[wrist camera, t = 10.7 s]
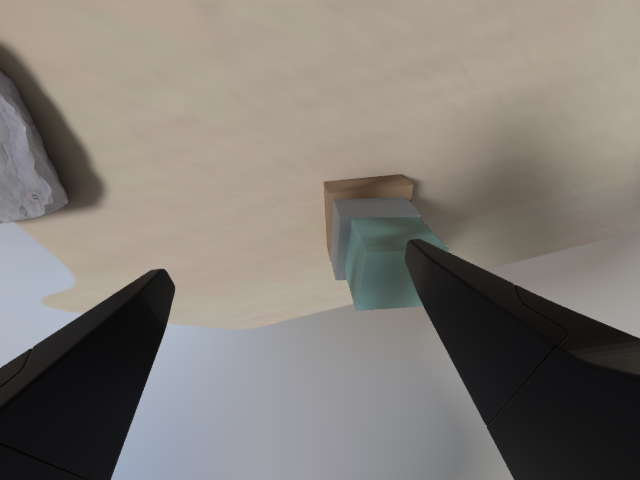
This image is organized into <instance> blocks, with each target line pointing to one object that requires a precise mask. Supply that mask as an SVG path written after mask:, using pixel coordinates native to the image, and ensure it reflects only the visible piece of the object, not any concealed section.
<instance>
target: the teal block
mask: <svg viewBox="0 0 640 480" xmlns="http://www.w3.org/2000/svg"><path fill="white" fill-rule="evenodd" d="M410 239H421V240H424V241H426V242H428V243H430V244H432V245H434V246H436V247H438V248H440V249H442V250H444V251H446V252H448V250H449V249H448V248H447V247H446V246H445V245H444V244H443V243H442V242H441V241H440V239H439V238H438V237H437V236H436V235H435V234H434V233H433V232H432V231H431V230H430V229H429V228H428V227H427V225H426V224H425V223H424V222H423V221H422V220H421V219H420V218H419V217H395V218H352V220H351V228H350V236H349V243H348V251H347V259H346V266H345V274H346V277H347V281H348V284H349V288H350V291H351V295H352V298H353V301H354V305H355V308H356V311H357V310H373V309H389V308H404V307H420V306H423V304H422V302H421V300H420V298H419V296H418V294H417V292H416V289H415V287H414V284H413V281H412V279H411V276H410V274H409V271H408V268H407V266H406V263H405V252H406V246H407V242H408V240H410Z"/></svg>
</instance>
